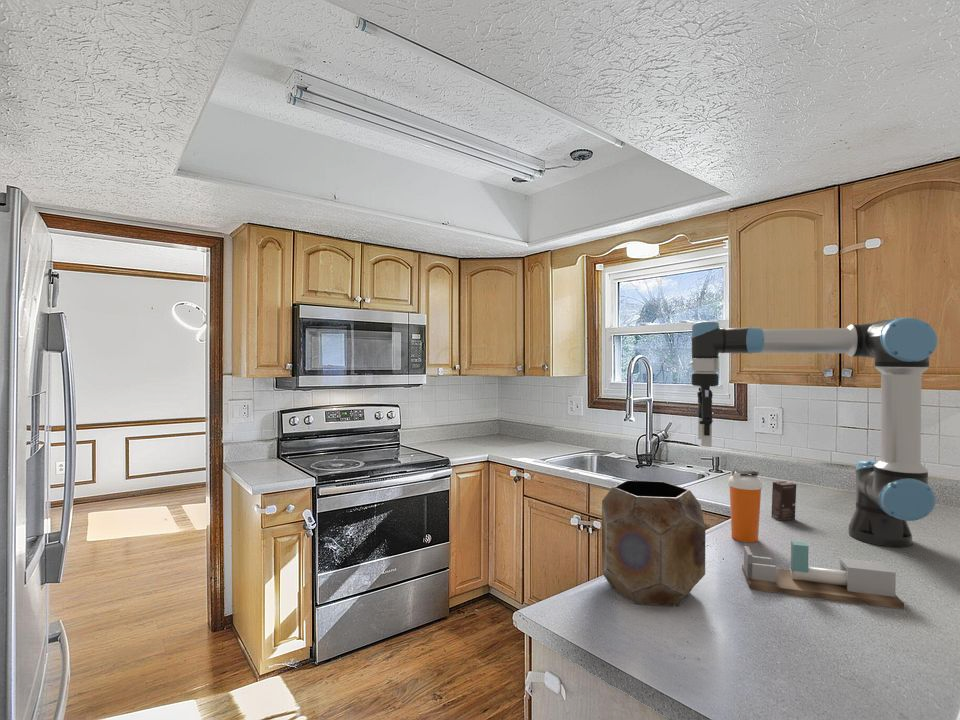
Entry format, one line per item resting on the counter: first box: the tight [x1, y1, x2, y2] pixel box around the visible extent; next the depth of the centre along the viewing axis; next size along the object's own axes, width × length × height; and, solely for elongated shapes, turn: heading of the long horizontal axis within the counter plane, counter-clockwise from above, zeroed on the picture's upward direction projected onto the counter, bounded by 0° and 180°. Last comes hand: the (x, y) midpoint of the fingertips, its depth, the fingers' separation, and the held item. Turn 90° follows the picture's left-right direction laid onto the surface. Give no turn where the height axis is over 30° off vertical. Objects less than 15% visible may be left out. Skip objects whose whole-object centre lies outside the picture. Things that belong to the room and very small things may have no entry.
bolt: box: [790, 540, 847, 586], centre depth 123 cm, size 20×3×9 cm, turn 71°
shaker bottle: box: [728, 469, 763, 543], centre depth 157 cm, size 9×9×20 cm
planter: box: [601, 480, 706, 607], centre depth 123 cm, size 22×24×24 cm
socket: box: [743, 545, 777, 582], centre depth 128 cm, size 6×6×6 cm
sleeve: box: [839, 557, 897, 597], centre depth 121 cm, size 9×6×5 cm, turn 71°
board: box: [741, 564, 905, 610], centre depth 124 cm, size 30×12×1 cm, turn 71°
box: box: [771, 480, 797, 521], centre depth 176 cm, size 6×4×12 cm
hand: (704, 442), depth 160 cm, fingers open, 13 cm apart
